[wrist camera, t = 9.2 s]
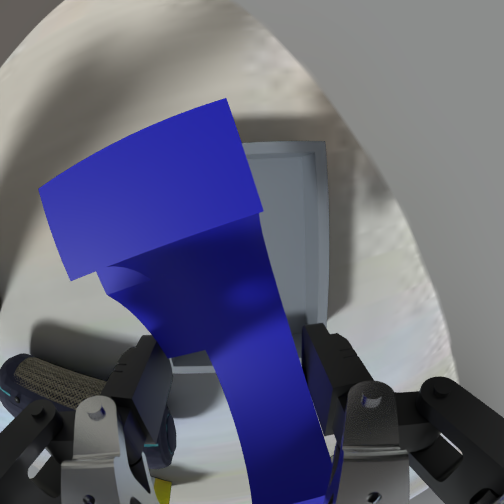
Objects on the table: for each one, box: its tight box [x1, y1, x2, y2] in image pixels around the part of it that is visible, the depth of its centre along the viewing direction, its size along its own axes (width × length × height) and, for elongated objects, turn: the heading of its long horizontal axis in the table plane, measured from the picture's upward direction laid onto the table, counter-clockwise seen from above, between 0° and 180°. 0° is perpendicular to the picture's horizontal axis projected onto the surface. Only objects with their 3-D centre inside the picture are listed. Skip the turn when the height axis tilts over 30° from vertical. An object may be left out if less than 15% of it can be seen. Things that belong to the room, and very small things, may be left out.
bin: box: [169, 141, 329, 374], centre depth 21 cm, size 14×18×5 cm
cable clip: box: [39, 98, 332, 504], centre depth 7 cm, size 12×4×6 cm, turn 18°
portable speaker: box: [0, 354, 176, 469], centre depth 22 cm, size 25×10×10 cm, turn 83°
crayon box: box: [150, 476, 172, 504], centre depth 28 cm, size 7×3×12 cm, turn 65°
